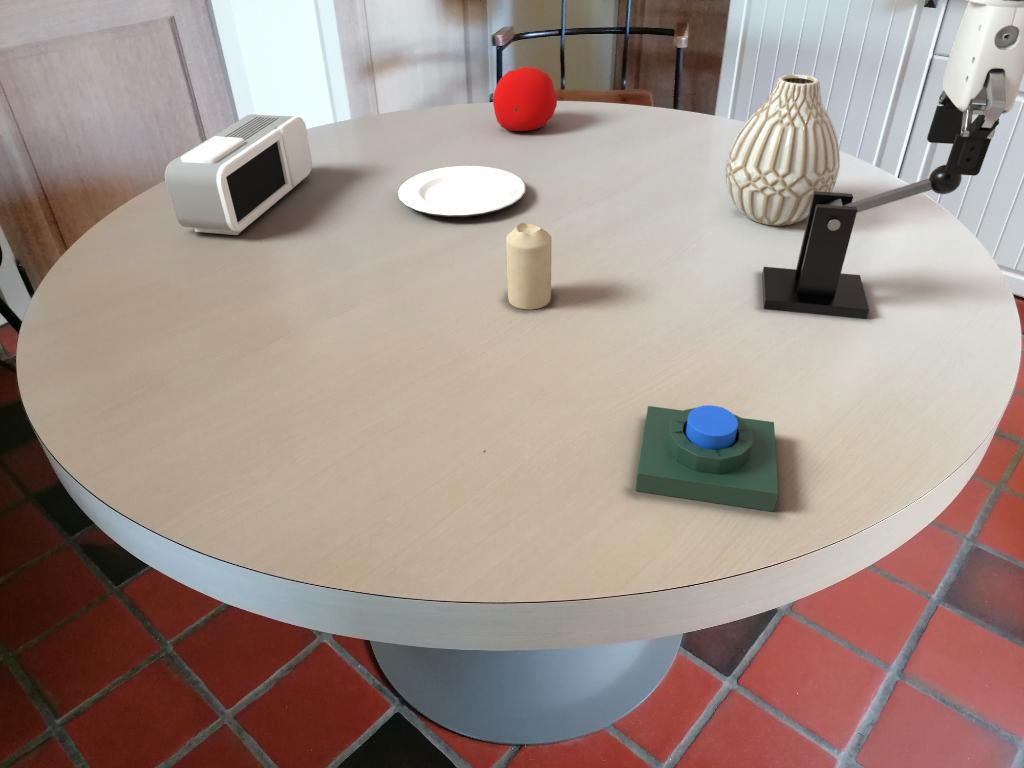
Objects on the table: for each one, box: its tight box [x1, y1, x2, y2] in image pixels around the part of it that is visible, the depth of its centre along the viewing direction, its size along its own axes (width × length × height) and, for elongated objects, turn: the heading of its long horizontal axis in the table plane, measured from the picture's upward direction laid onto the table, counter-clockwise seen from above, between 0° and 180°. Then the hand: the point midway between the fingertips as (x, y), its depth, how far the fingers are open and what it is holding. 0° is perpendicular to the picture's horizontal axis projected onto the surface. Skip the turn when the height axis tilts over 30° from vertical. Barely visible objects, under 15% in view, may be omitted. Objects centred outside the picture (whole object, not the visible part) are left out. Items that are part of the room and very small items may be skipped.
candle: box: [505, 222, 553, 310], centre depth 93 cm, size 6×6×10 cm
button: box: [686, 404, 738, 450], centre depth 68 cm, size 4×4×2 cm
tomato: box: [492, 66, 558, 132], centre depth 150 cm, size 13×13×13 cm
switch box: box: [635, 405, 779, 512], centre depth 69 cm, size 12×10×4 cm
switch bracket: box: [761, 191, 870, 320], centre depth 92 cm, size 12×9×13 cm
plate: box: [397, 165, 526, 218], centre depth 123 cm, size 21×21×2 cm
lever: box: [822, 164, 963, 214], centre depth 86 cm, size 15×3×3 cm, turn 76°
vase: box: [725, 73, 841, 227], centre depth 110 cm, size 16×16×20 cm
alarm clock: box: [164, 113, 313, 236], centre depth 120 cm, size 27×9×12 cm, turn 167°
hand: (950, 157), depth 83 cm, fingers open, 9 cm apart
